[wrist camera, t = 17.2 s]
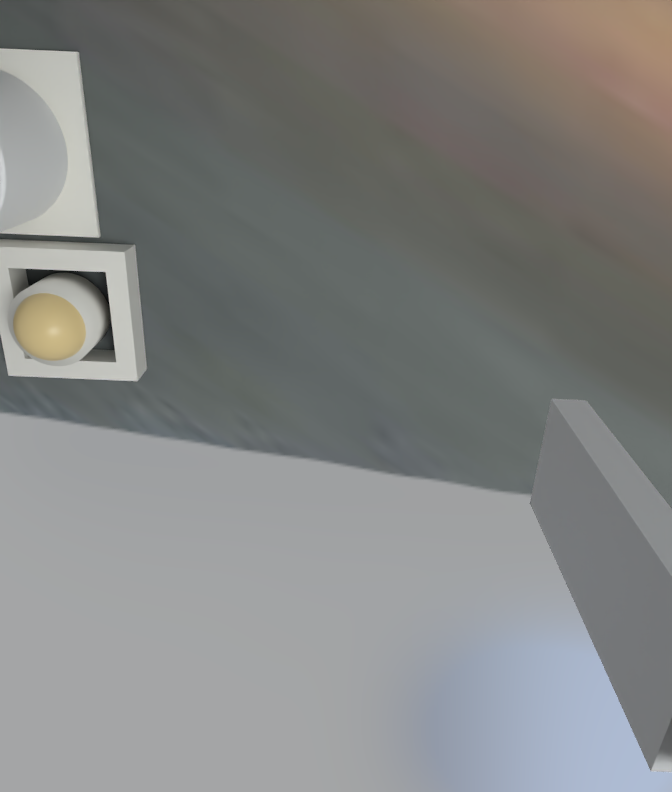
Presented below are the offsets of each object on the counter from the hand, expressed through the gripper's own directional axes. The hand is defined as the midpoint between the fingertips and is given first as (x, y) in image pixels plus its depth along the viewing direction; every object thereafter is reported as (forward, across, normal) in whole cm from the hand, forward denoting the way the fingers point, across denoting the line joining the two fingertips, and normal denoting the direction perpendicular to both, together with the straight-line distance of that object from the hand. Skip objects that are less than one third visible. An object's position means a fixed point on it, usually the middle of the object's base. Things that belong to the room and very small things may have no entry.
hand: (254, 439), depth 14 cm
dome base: (+35, -18, -8) cm, 40 cm away
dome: (+34, -18, -8) cm, 39 cm away
